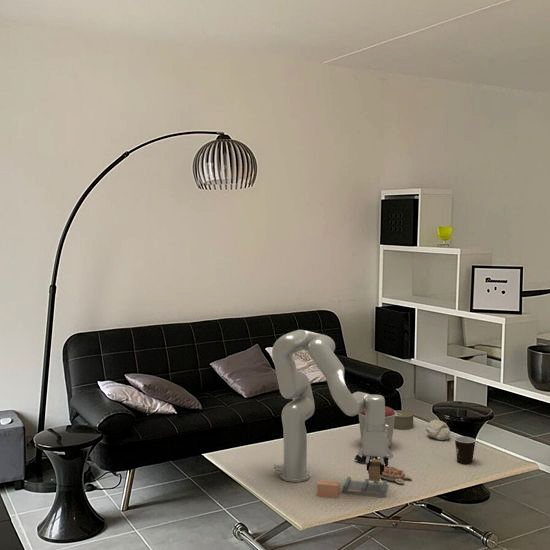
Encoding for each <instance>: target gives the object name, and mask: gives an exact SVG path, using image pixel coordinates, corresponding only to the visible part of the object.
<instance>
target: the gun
mask: <svg viewBox="0 0 550 550" xmlns="http://www.w3.org/2000/svg"><path fill="white" fill-rule="evenodd" d="M387 456H388V455H387ZM387 456H386V457H387ZM366 457H367V456H366ZM384 458H385V457H384ZM353 459H354V461H356V462H357V464H362V463H366V462H365V461H364V460H363V459H362V457H360V456H359V455H358V453H357V454H356V455H355V456H354V458H353ZM372 459H376V460H380V458H379V457H375V456H370V461H371V460H372ZM387 466H389V460H388V461H387V462H386V463H384V467H387Z"/></svg>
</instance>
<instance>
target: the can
mask: <svg viewBox="0 0 550 550" xmlns="http://www.w3.org/2000/svg"><path fill="white" fill-rule="evenodd" d="M395 411H396V412H397V414H396V415H395V421H394V429H393V430H397V431H407V430H408V431H409V429H410V430H413V428H414V415H415V414H414V413H413V412H412V411H409V410H403V409H402V410H400V409H399V410H397V409H396V410H395Z"/></svg>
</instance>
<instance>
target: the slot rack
mask: <svg viewBox="0 0 550 550" xmlns="http://www.w3.org/2000/svg"><path fill="white" fill-rule="evenodd" d="M382 481H383V483H377V482H371V481H370V480H369V478H365V479H364V481H360V480H359V481H358V480H352V477H351V476H348V477H347V478H346V480H345V482H344V484H343V486H342V489H341V491H340V492H341V494H348V495H349V494H350V495H359V496H365V497H366V496H369V497H376V498H377V497H378V498H386V496H387V494H388V490H389V487H390V485H389V484H388V480H382Z"/></svg>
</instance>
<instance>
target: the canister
mask: <svg viewBox="0 0 550 550" xmlns="http://www.w3.org/2000/svg"><path fill="white" fill-rule="evenodd" d="M396 414H397V412H396V410H394V409H393V408H392V407H389V406H386V405H385V424H387V425H389V428H387V429H385V430H387V433H388V440H389V447H391V445H392V441H393V434H394V430H395V429H394V421H395V415H396ZM358 421H359V433H360V439H361V441H362V440H363V432H364V429H365V428H366V422H365V411H362V412H360V413H359V414H358Z"/></svg>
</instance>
